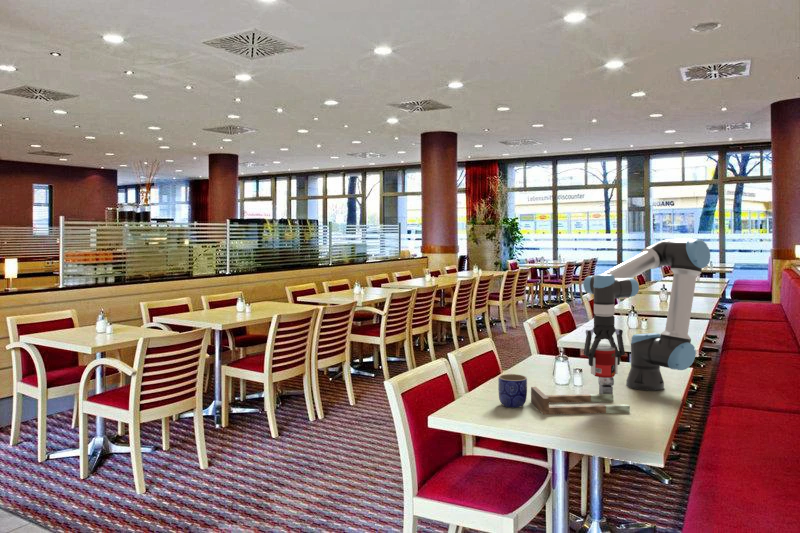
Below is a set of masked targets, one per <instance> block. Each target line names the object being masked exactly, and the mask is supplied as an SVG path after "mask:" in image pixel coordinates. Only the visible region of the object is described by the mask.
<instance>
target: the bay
mask: <svg viewBox="0 0 800 533" xmlns="http://www.w3.org/2000/svg"><path fill="white" fill-rule="evenodd" d="M530 402H531V404H533V405H534V407H535V408H537V410H539V412H540V413H542V414H543V415H545V416H546V415H581V414H582V415H583V414H585V415H586V414H619V413H620V414H623V413H625V414H627V413H630V411H631V408H630V407H631V406H630V405H629V404H627V403H626V404H624V403H623V404H622V403H621V404H588V405H581V404H580V405H551V406H550V404H551V403H553V404H557V403H560V404H561V403H593V402H594V403H596V402H600V403H601V402H614V394H613V395H612V394H599V393H590V394H589V393H588V394H584V393H583V394H545V393H544V392H543V391H542V390H540V389H539V388H538V387H537V386H531V387H530Z"/></svg>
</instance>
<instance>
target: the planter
mask: <svg viewBox="0 0 800 533" xmlns="http://www.w3.org/2000/svg"><path fill="white" fill-rule="evenodd" d="M497 382H498V383H497V384H498V386H497V387H498V391H497V392H498V398H499V402H500V404H501V405H502V406H503V407H506V408H510V409H518V408H519V409H520V408H521V407H523V406H524V405H525V403H526V402H527V394H528V378H527V376H525V375H523V374H513V373H506V374H501V375H499V376H498V380H497Z"/></svg>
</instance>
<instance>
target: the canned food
mask: <svg viewBox="0 0 800 533" xmlns="http://www.w3.org/2000/svg"><path fill="white" fill-rule="evenodd" d="M593 357H594V358H595V375H593V376H594V377H597V378H599V377H601V378H611V377H613V378H614V377H615V375H616V374H615V348H613V347H611V345H603V344H602V345H601V344H600V345H598V347H597V348H596V352H595V354H594V356H593Z"/></svg>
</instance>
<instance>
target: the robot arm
mask: <svg viewBox="0 0 800 533" xmlns="http://www.w3.org/2000/svg"><path fill="white" fill-rule="evenodd" d="M710 261H711V252H710V248H709V246H708V244H707V242H705V241H704V240H702V239H699V238H697V239H696V238H666V239H663V240H660V241H657V242H655V243H653V244H650V245H649V246H647V247H645V248H643V249H641V251H640V253H638V254H636V255H635V256H633V257H630V258H629V259H627V260H624V261H623V262H621V263H619V264H617V265H615V266H613V267H611V268H610V269H608V270H606V271H604V272H602V273H599V274H596V275H589V276H586V277H585V278H584V281H583V285H582V287H583V291H585V292H586V293H587V294H591V295H593V314H594V315H593V327H592V329H586V330H585V335H586V336H585V342H584V348H583V355H584V356H585V357H587V358H588V366H589V367H590V374H591V375H592V376H594V375H595V358H594V357H593V356H594V354H595V352H596V348H597V347H598V346H600V342H601V341H602V340H608V342H609V344H610V345H609V346H611V347H613V348H615V375H618V370H619V369H618V366H620V364H621V363H620V362H621V361H620V360H621V359H620V358H621V357H622V356H625V355H626V352H625V351H626V350H625V345H624V340H623V333H624V332H623V331H624V330H623V329H620V328H616V327H615V319H616V318H615V310H616V309H615V306H616V305H615V299H622V298H624V299H625V298H627V299H628V298H630V297H631V298H632V297H635V296H636V295H637V294H638V293H639V291H640V290H639V288H640V286H639V285H640V284H639V282H638V281H637V280H636V278H635V277H637V276H638V275H640V274H642V273H644V272H646V271H648V270H651V269H652V270H654V269H657V268H659V267H670V271H672V273H673V276H672V277H673V278H672V283H671V290H670V296H669V297H670V298H669V303H668V310H667V317H666V323H665V328H664V330H663V331H662V332H661V333H658V332H651V333H650V332H648V333H636V334H633V335H632V336H631V343H630V369H629V372H628V375H627V377H626V386H627V387H629V388H631V389H635V390H640V391H661V390H663V389H665V382H664V379H663V375H662V373H661V372H662V371H661V367H663V368H668V369H670V370H677V371H685V370H687V369H688V368H690V366H692V365H693V363H694V361H695V358H696V354H697V353H696V351H697V350H696V349H695V346H694V344H693V343H691V342H692V338H691V337H690V335H689V334H688V333H689V329H690V328H689V327H690V321H691V315H692V310H693V309H692V308H693V304H694V303H693V301H694V295H695V288H696V281H697V277H698V276H699V275H701V274H702V270H703V269H704V268H707V266H708V265H709V264H710ZM593 334H595V335H594V340H593V342H592V339H593V338H592V336H593ZM614 334H615V335H616V340H617V341H616V342H617V344H616V342H615V339H614Z"/></svg>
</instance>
